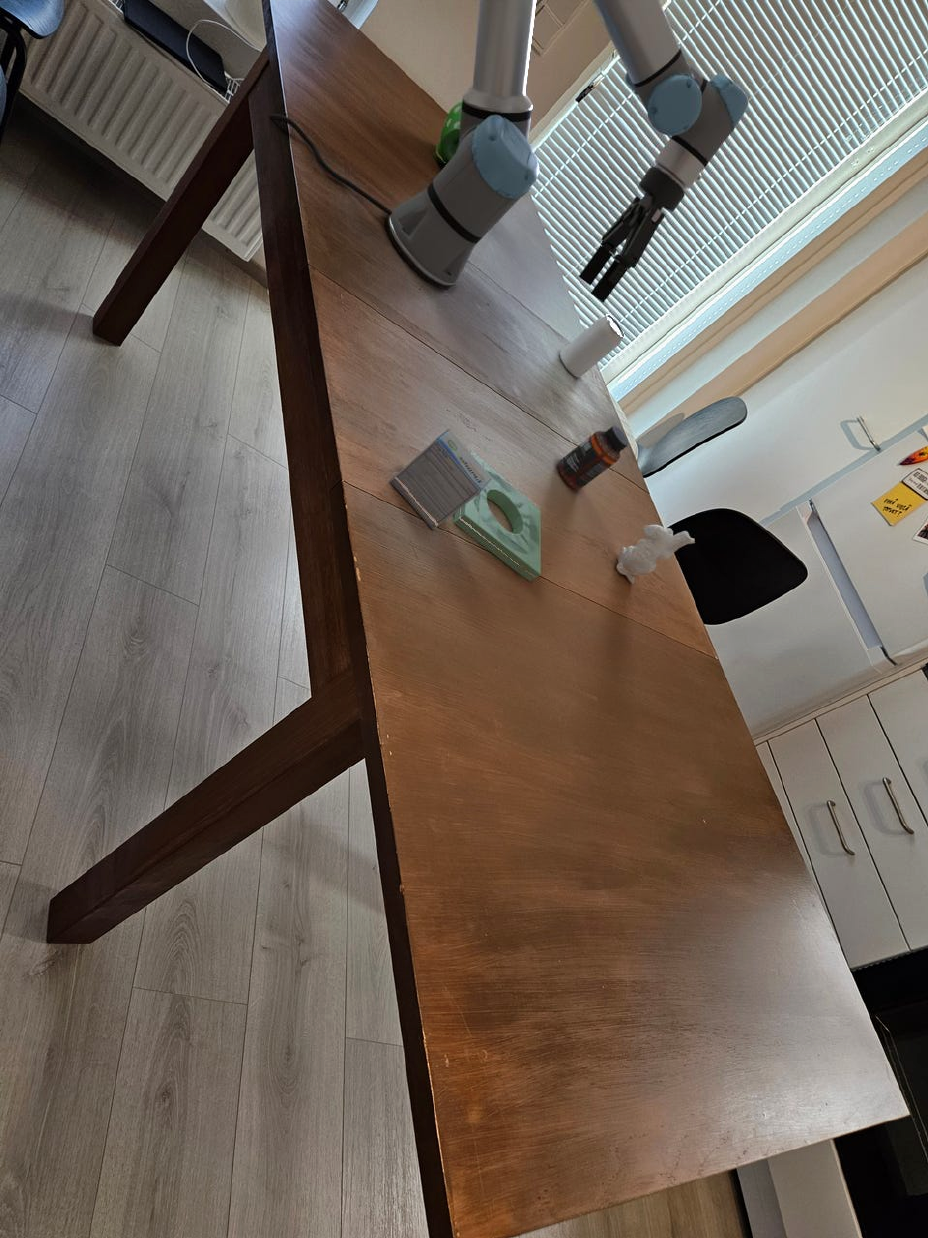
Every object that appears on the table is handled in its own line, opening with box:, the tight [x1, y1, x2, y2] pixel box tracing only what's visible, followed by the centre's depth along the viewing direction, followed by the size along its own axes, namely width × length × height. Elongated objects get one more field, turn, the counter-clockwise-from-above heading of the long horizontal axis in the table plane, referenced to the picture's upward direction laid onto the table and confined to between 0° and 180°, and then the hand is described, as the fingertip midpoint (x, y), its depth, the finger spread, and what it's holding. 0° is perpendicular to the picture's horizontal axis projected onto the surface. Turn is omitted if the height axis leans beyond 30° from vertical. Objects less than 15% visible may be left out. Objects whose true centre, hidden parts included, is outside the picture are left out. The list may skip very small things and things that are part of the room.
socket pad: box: [453, 450, 542, 583], centre depth 108 cm, size 14×14×2 cm
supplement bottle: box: [557, 425, 629, 490], centre depth 131 cm, size 6×6×11 cm
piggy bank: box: [433, 101, 462, 165], centre depth 166 cm, size 14×18×15 cm
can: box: [559, 313, 626, 378], centre depth 159 cm, size 6×6×12 cm
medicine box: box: [390, 428, 491, 531], centre depth 95 cm, size 8×4×9 cm, turn 65°
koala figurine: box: [616, 524, 696, 584], centre depth 128 cm, size 8×7×12 cm
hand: (590, 289), depth 144 cm, fingers open, 13 cm apart
